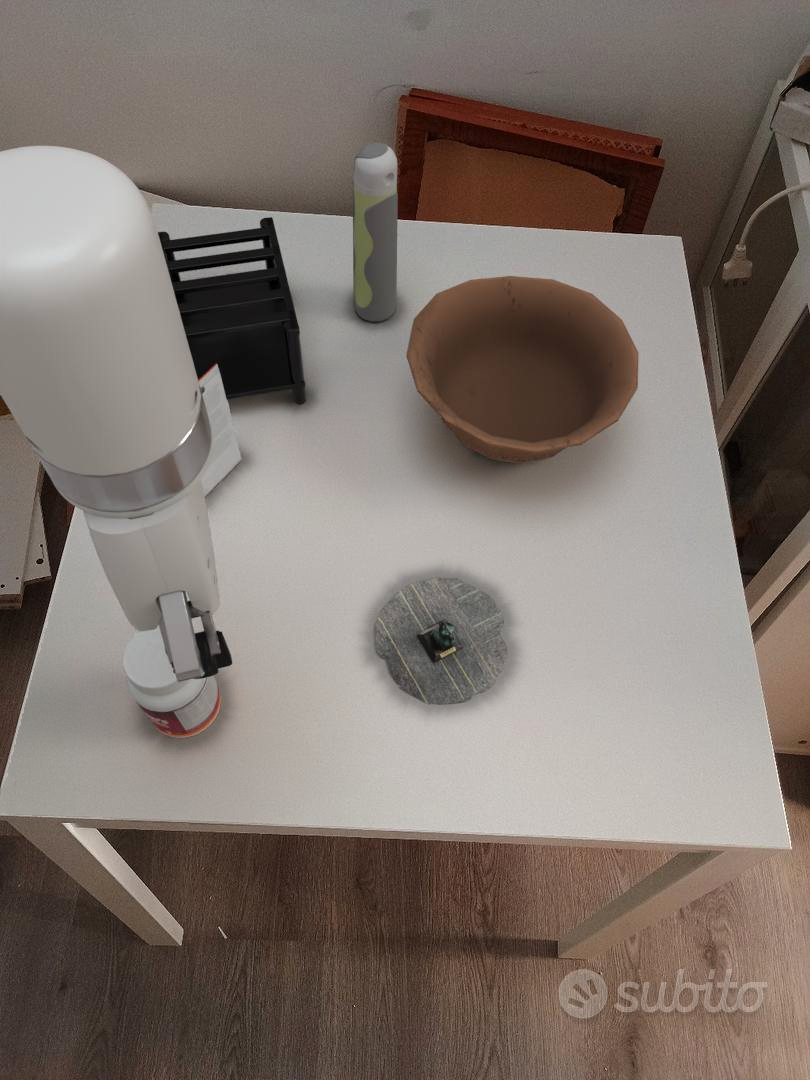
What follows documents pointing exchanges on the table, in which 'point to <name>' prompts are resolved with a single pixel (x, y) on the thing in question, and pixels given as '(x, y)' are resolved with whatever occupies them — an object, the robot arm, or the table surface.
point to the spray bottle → (375, 232)
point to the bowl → (522, 365)
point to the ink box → (218, 430)
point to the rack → (239, 314)
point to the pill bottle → (167, 688)
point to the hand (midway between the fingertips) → (194, 596)
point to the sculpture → (441, 640)
